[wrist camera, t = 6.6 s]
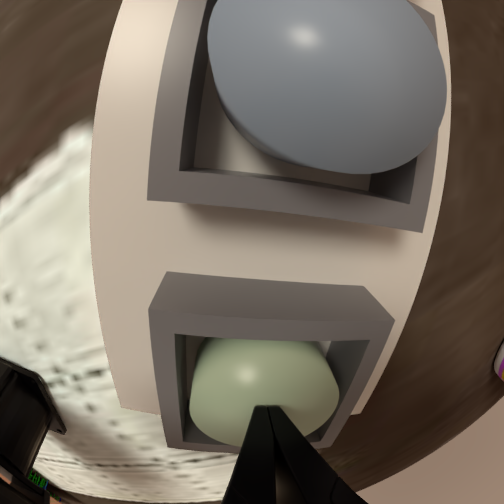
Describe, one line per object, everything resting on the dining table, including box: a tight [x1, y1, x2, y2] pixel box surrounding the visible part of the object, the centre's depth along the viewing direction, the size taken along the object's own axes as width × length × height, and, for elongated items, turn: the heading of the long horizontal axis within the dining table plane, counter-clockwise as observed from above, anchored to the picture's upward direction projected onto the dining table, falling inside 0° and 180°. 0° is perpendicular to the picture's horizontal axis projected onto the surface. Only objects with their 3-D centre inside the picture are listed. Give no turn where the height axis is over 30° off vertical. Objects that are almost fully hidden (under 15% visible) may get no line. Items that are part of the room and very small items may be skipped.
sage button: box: [189, 337, 339, 447], centre depth 9 cm, size 5×5×2 cm
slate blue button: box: [207, 0, 447, 174], centre depth 5 cm, size 5×5×2 cm
